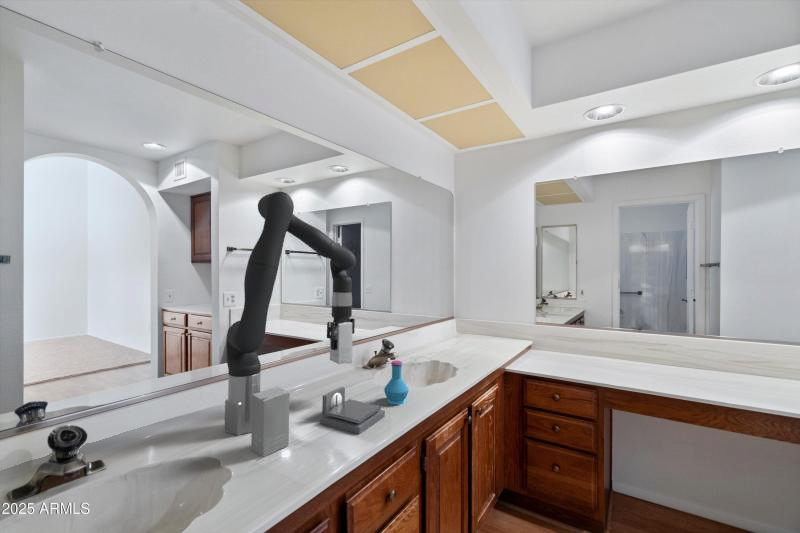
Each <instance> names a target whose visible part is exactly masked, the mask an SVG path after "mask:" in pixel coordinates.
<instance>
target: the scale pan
mask: <svg viewBox="0 0 800 533" xmlns="http://www.w3.org/2000/svg"><path fill="white" fill-rule="evenodd" d="M379 410H382V406H381V405H377V404H373V403H368V402H364V401H359V400H354V399H351V398H350V399H347V400H345V402H343V403H341V404H339V405H337V406H336V407H334V408H332V409H330V410H328V411H326V415H328V416H332V417H336V418H340V419H343V420H347V421H351V422H355V423H360V422H362V421H364V420H365V419H367V418H368V417H370V416H371V415H373V414H374V413H376V412H377V411H379Z"/></svg>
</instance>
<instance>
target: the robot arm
mask: <svg viewBox="0 0 800 533" xmlns="http://www.w3.org/2000/svg"><path fill="white" fill-rule="evenodd" d="M294 206H295V205H294V201H293V199H292V197H291V195H289V194H288V193H287V192H284V191H274V192H271V193H268V194H266V195H264V196H262V197H261V198H260V199H259V200H258V203H257V210H258V213H259V215H260V216H261V218H263V219H264V222H263V228H262V231H261V234H260V236H259V238H258V239H257V241H256V243H255V245H254V247H253V249H252V250H251V252H250V256H249V258H248V260H247V261H248V262H247V265H246V269H245V273H244V280H243V281H244V282H243V284H244V286H243V289H244V290H243V292H244V303H243V304H244V305H243V310H242V313H241V316H240V317H241V318H240V320H237V321H235V322H234V323H233V324H231V326H230V327H229V328H228V331H227V334H226V364H227V368H228V373H227V374H228V379H227V380H228V387H227V399H225V401H224V432H226V433H229V434H233V435H235V436H240V435H245V434H250V433H252V394H255V393H259V392H261V376H262V375H261V372H262V370H261V368H262V366H261V365H262V364H261V360H260V359H259V355H258V350H259V349H260V348H261V346H262V345H263V342H264V341H265V336H266V328H267V327H266V326H267V319H268V312H269V307H270V304H271V300H272V299H271V298H272V296H273V291H274V288H275V283H276V279H277V276H278V270H279V266H280V262H281V257H282V253H283V247H284V246H283V245H284V242H285V238H286V234H287V232H288V233H289V234H290V235H292V236H294V237H295V238H296V239H298V240H300V241H301V242H303V243H304V244H305V245H306V246H308V247H309V248H310V249H311V250H312V251H314V252H315V253H317V255H319V256H321V257H323V258H325V259H329V268H330V273H331V278H332V294H331V295H332V297H331V317H332V318H333V320H332V321H328V322H326V338H327V339H328V340H330V339H331V349H332V350H337V338H338V332H337V331H334V329H335V328H336V327H337V326H338V324H339V323H343V322H350V323H352V335H353V334H355V329H356V328H355V323H356V322H355V321H356V320H355V318H352V316H353V315H352V314H353V296H352V295H353V294H352V293H353V291H352V289H353V288H352V287H353V285H352V282H353V281H352V278H351V277H350V276H348V274H347V271H350V270H352V269H354V267H356V265H357V258H356V256H355V254H354V253H353V252H352V251H351V250H350V249H348V248H346V247H344V246H343V245H341V244H339V243H337V242H336V241H334V240H333V239H332V238H331V237H329V235H327V234H326V233H325V232H324V231H321V230H320V229H318V228H317V227H314V225H311V224H310V223H308V222H305V221H303V220H302V219H301V218H299V217H298V216H296V215H295V214H294V208H295V207H294ZM330 332H331V335H330ZM334 334H336V335H335V336H334Z"/></svg>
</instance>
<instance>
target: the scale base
mask: <svg viewBox="0 0 800 533" xmlns="http://www.w3.org/2000/svg"><path fill="white" fill-rule="evenodd" d="M345 397H346V388H345V386H344V387H343V386H340V387H337V388H336V389H334V390H331V391H329V392H327V393H325V394H323V395H322V407H321V410H322V411H321V412H322V413H321V417H320V424H321V425H325V426H328V427H332V428H336V429H339V430H343V431H347V432H350V433H354V434H357V435H361V434H363V432H365V431H367V430H368V429H369V428H371V427H373V425H375V424H377V423H378V422H379V421H381V420H382V419H384V418H385V417H386V413H385V412H386V411H385V410H384V409H380V410H379V411H377V412H376V413H374V414H373V415H371V416H370V417H368V418H367V419H365V420H364V421H362V422H360V423H355V422H351V421H347V420H343V419H340V418H336V417H332V416H328V415H326V411H328V410H330V409H332V408H334V407H336V406H337V405H339V404H341V403H343V402H345V401H346V399H345Z"/></svg>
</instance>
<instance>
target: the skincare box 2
mask: <svg viewBox="0 0 800 533" xmlns="http://www.w3.org/2000/svg"><path fill="white" fill-rule="evenodd" d="M334 331H337V332H338V338H337V350H332V349H331V339H329V360H330V361H332V362H333V363H335V364H337V365H342V364H352V363H353V334H352V323H350V322H343V323H339V324H338V326H337V327H336V328H335V329H334ZM330 335H331V332H330ZM335 335H336V334H334V336H335Z"/></svg>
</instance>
